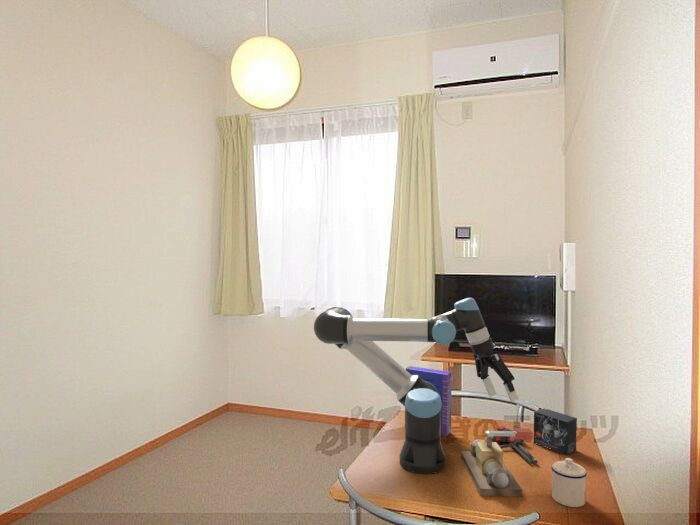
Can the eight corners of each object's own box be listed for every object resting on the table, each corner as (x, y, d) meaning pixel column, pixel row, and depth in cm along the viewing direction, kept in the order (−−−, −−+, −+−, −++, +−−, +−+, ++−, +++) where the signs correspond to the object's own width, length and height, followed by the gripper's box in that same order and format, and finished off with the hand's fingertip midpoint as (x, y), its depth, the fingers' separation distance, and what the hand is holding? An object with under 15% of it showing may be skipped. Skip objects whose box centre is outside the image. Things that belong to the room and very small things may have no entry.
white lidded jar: (593, 507, 129) (594, 465, 129) (563, 509, 128) (564, 467, 128) (566, 485, 141) (567, 447, 141) (538, 487, 140) (539, 449, 140)
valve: (476, 441, 180) (513, 434, 181) (507, 476, 154) (549, 467, 156) (474, 425, 179) (511, 418, 181) (505, 458, 153) (547, 449, 155)
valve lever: (486, 438, 146) (486, 431, 146) (483, 435, 149) (483, 427, 149) (532, 439, 146) (532, 432, 146) (529, 436, 149) (529, 428, 149)
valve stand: (480, 495, 135) (480, 454, 135) (460, 456, 161) (461, 422, 161) (522, 496, 135) (522, 455, 134) (496, 457, 161) (496, 422, 160)
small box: (532, 443, 173) (533, 411, 173) (542, 439, 177) (543, 407, 177) (567, 455, 163) (567, 421, 162) (577, 451, 167) (577, 417, 167)
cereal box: (450, 432, 182) (451, 371, 182) (446, 436, 178) (447, 374, 178) (409, 424, 192) (410, 365, 191) (404, 427, 187) (405, 368, 187)
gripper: (508, 336, 153) (534, 397, 152) (471, 336, 177) (492, 389, 176) (490, 345, 151) (515, 407, 150) (454, 344, 175) (476, 397, 174)
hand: (503, 397), depth 163 cm, fingers open, 13 cm apart
